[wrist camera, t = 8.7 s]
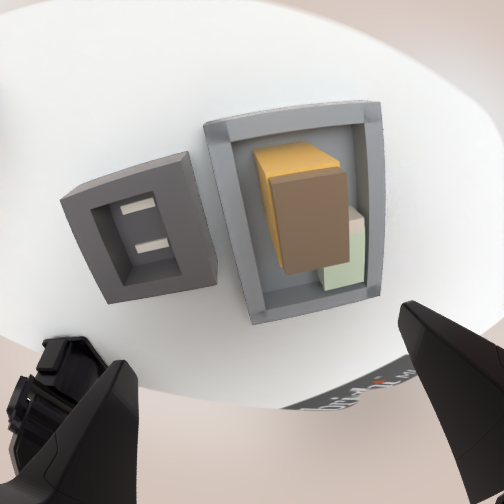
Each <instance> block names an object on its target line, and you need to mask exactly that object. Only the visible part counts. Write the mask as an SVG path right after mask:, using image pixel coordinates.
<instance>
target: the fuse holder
mask: <svg viewBox="0 0 504 504" xmlns="http://www.w3.org/2000/svg"><path fill="white" fill-rule="evenodd" d="M60 202H61V205H62V208H63V210H64V213H65V215H66V218H67V220H68V222H69V225H70V227H71V230H72V232H73V234H74V237H75V239H76V241H77V243H78V246H79V248H80V250H81V252H82V254H83V256H84V259H85V261H86V263H87V265H88V267H89V269H90V271H91V273H92V275H93V277H94V279H95V281H96V283H97V285H98V287H99V288H100V290H101V292H102V294H103V296H104V298H105V300H106V301H107V303H108V304H113V303H119V302H125V301H131V300H137V299H143V298H148V297H154V296H160V295H165V294H171V293H176V292H182V291H187V290H193V289H198V288H203V287H209V286H214V285H217V257H216V254H215V250H214V247H213V243H212V240H211V236H210V233H209V229H208V226H207V222H206V218H205V215H204V211H203V207H202V204H201V200H200V196H199V192H198V189H197V185H196V181H195V177H194V173H193V169H192V165H191V162H190V158H189V154H188V151H186V152H182V153H178V154H174V155H171V156H167V157H163V158H160V159H156V160H153V161H149V162H146V163H143V164H139V165H136V166H133V167H130V168H127V169H124V170H121V171H118V172H115V173H112V174H109V175H106V176H103V177H100V178H97V179H94V180H92V181H89V182H86V183H84V184H81V185H79V186H78V187H76V188H75V189H74V190H72V191H71V192H70V193H68V194H67V195H66V196H64V197H63V198H62V199H60Z"/></svg>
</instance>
